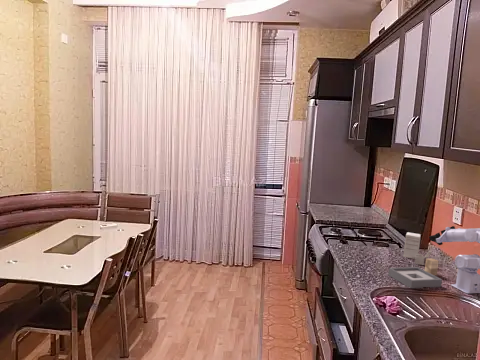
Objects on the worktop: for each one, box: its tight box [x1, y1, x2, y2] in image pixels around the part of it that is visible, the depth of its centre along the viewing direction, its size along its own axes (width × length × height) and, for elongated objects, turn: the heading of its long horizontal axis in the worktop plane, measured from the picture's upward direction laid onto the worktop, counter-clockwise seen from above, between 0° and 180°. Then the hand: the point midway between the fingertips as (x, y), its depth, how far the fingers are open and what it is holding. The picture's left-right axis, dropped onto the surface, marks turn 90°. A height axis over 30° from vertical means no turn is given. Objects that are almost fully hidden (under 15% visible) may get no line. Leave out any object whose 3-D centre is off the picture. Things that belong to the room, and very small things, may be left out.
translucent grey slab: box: [414, 250, 432, 266], centre depth 218 cm, size 7×2×8 cm, turn 68°
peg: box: [423, 258, 440, 276], centre depth 204 cm, size 4×4×7 cm
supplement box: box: [402, 231, 422, 260], centre depth 231 cm, size 7×7×13 cm
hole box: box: [387, 266, 443, 289], centre depth 192 cm, size 16×16×4 cm
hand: (435, 235), depth 204 cm, fingers open, 7 cm apart
